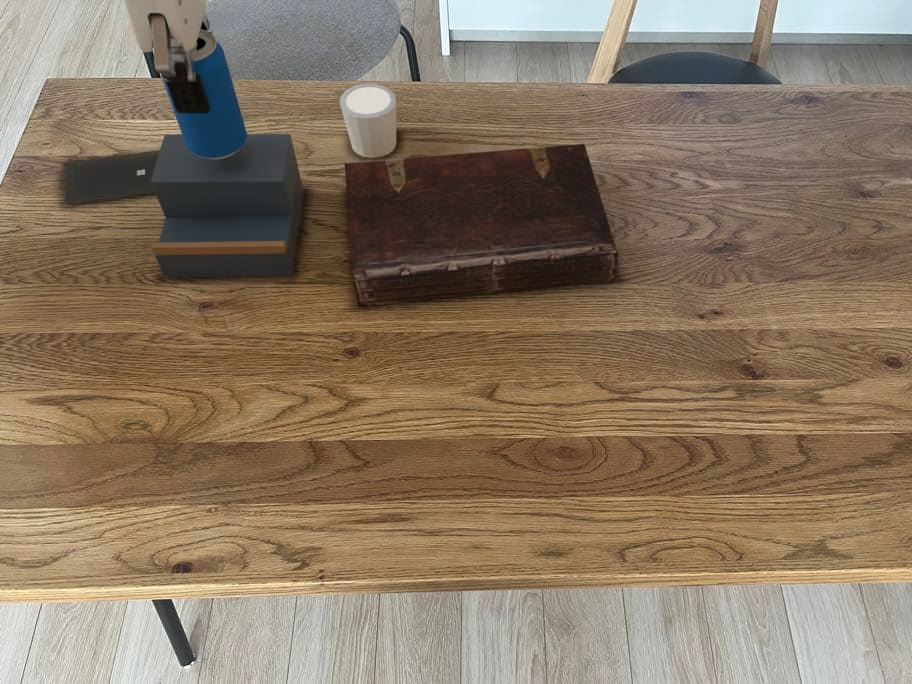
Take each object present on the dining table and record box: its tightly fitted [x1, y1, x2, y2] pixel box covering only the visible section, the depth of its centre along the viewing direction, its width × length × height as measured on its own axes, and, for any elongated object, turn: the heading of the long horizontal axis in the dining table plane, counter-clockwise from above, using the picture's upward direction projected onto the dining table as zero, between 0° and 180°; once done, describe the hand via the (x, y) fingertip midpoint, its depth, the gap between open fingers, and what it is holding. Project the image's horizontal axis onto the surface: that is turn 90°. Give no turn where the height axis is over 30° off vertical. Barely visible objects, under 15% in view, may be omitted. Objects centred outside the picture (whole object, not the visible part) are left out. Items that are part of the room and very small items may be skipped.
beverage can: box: [160, 29, 248, 159], centre depth 90 cm, size 6×6×12 cm
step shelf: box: [151, 133, 305, 279], centre depth 98 cm, size 14×14×9 cm
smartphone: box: [64, 150, 160, 206], centre depth 106 cm, size 8×15×1 cm, turn 105°
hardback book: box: [344, 143, 619, 308], centre depth 101 cm, size 29×19×5 cm, turn 100°
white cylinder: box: [339, 83, 397, 159], centre depth 109 cm, size 7×7×7 cm
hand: (199, 88), depth 89 cm, fingers closed on beverage can, 6 cm apart
